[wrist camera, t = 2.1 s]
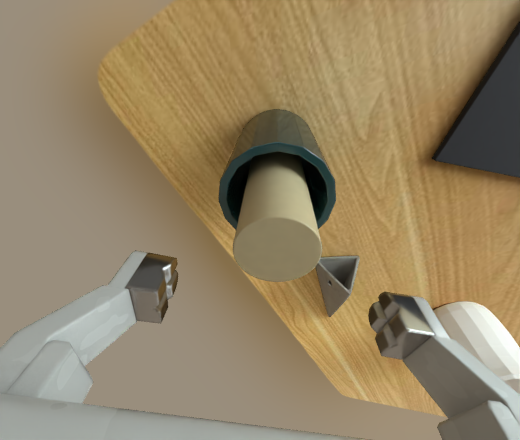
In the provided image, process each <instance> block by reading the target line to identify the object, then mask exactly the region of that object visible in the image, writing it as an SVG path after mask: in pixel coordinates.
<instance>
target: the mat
mask: <svg viewBox="0 0 520 440" xmlns="http://www.w3.org/2000/svg"><path fill="white" fill-rule="evenodd" d="M432 159H433V160H435V161H439V162H444V163H449V164H454V165H459V166H464V167H469V168H474V169H479V170H484V171H489V172H494V173H499V174H504V175H509V176H514V177H519V178H520V22H519V23H518V25H517V26H516V28H515V30H514V31H513V33H512V34H511V36H510V37H509V39H508V40H507V42H506V44H505V45H504V47H503V48H502V50H501V51H500V53H499V54H498V56H497V58H496V59H495V61H494V62H493V64H492V65H491V67H490V68H489V70H488V72H487V73H486V75H485V76H484V78H483V79H482V81H481V82H480V84H479V86H478V87H477V89H476V90H475V92H474V93H473V95H472V96H471V98H470V100H469V101H468V103H467V104H466V106H465V107H464V109H463V110H462V112H461V114H460V115H459V117H458V118H457V120H456V121H455V123H454V124H453V126H452V128H451V129H450V131H449V132H448V134H447V135H446V137H445V138H444V140H443V142H442V143H441V145H440V146H439V148H438V149H437V151H436V152H435V154H434V156H433V157H432Z"/></svg>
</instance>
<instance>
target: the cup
mask: <svg viewBox="0 0 520 440" xmlns="http://www.w3.org/2000/svg"><path fill="white" fill-rule="evenodd" d="M433 312H434V313H435V315H436V317H437V318H438V320H439V321H440V323H441V325H442V326H443V328H444V330H445V331H446V333H447V334H448V336H449V338H450V339H454V340H456V341H457V342H458V343H459V344H460V345H461V346H463V347H464V348H465V349H466V350H467V351H469V352H470V353H471V354H472V355H473V356H474V357H476V358H477V359H478V360H479V361H480V362H481V363H483V364H484V365H485V366H486V367H487V368H489V369H490V370H491V371H492V372H493V373H494V374H496V375H497V376H498V377H499V378H500V379H502V380H503V381H504V382H505V383H506V384H507V385H509V386H510V387H511V388H512V389H513V390H515V391H516V392H517V393H518V394H519V395H520V348H519V346H518V345H517V343H516V342H515V340H514V339H513V337H512V336H511V335H510V333H509V332H508V331H507V330H506V328H505V327H504V326H503V325H502V324H501V322H500V321H499V320H498V319H497V318H496V317H495V316H494V315H493V314H492V312H490V311H489V310H488V309H487V308H485V307H484V306H482V305H480V304H477V303H475V302H469V301H462V302H454V303H450V304H446V305H443V306H441V307H439V308H437V309H435V310H433Z"/></svg>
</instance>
